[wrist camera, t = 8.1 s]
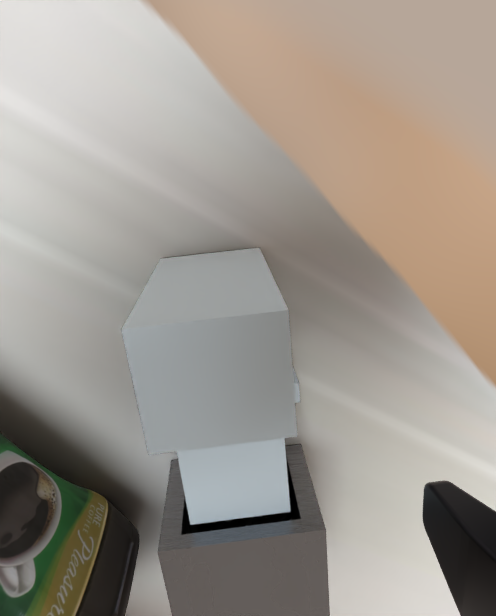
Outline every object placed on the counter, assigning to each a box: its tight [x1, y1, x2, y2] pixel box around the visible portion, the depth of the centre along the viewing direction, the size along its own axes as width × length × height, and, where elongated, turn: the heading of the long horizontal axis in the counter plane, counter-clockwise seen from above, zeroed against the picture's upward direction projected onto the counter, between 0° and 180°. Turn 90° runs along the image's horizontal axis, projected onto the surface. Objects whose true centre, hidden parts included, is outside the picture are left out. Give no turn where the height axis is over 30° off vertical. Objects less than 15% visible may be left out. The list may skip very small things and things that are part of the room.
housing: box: [158, 444, 330, 616], centre depth 21 cm, size 7×7×6 cm
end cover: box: [121, 248, 300, 525], centre depth 17 cm, size 11×6×8 cm, turn 6°
